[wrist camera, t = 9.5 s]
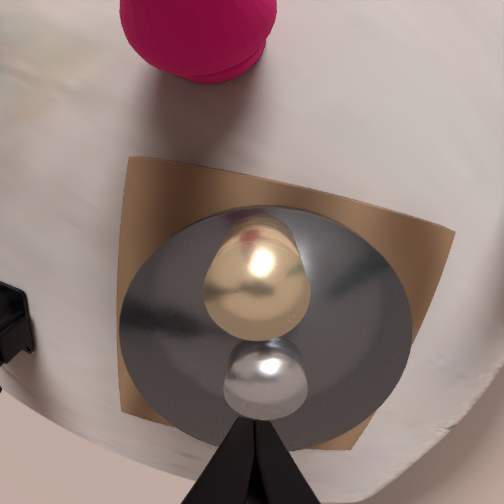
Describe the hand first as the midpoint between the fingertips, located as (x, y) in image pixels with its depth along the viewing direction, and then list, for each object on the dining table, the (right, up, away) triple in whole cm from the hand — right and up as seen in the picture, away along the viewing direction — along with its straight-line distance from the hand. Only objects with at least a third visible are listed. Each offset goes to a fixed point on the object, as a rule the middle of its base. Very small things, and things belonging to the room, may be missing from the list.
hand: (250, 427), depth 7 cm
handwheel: (+1, -2, +12) cm, 12 cm away
